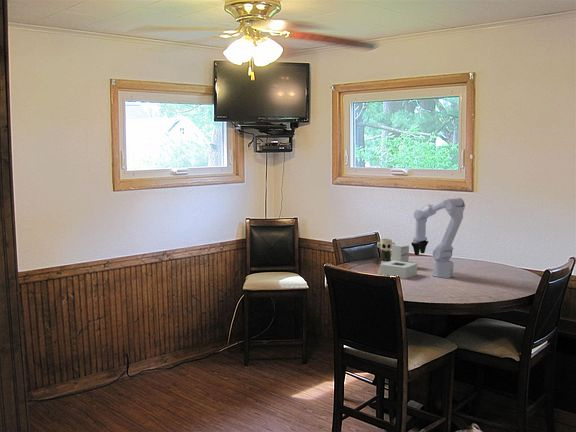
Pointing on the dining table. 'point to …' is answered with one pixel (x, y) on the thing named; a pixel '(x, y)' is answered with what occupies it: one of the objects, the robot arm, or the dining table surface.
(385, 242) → the character mug
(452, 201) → the robot arm
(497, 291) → the dining table surface
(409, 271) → the white square ring
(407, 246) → the supplement box
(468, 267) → the dining table surface
